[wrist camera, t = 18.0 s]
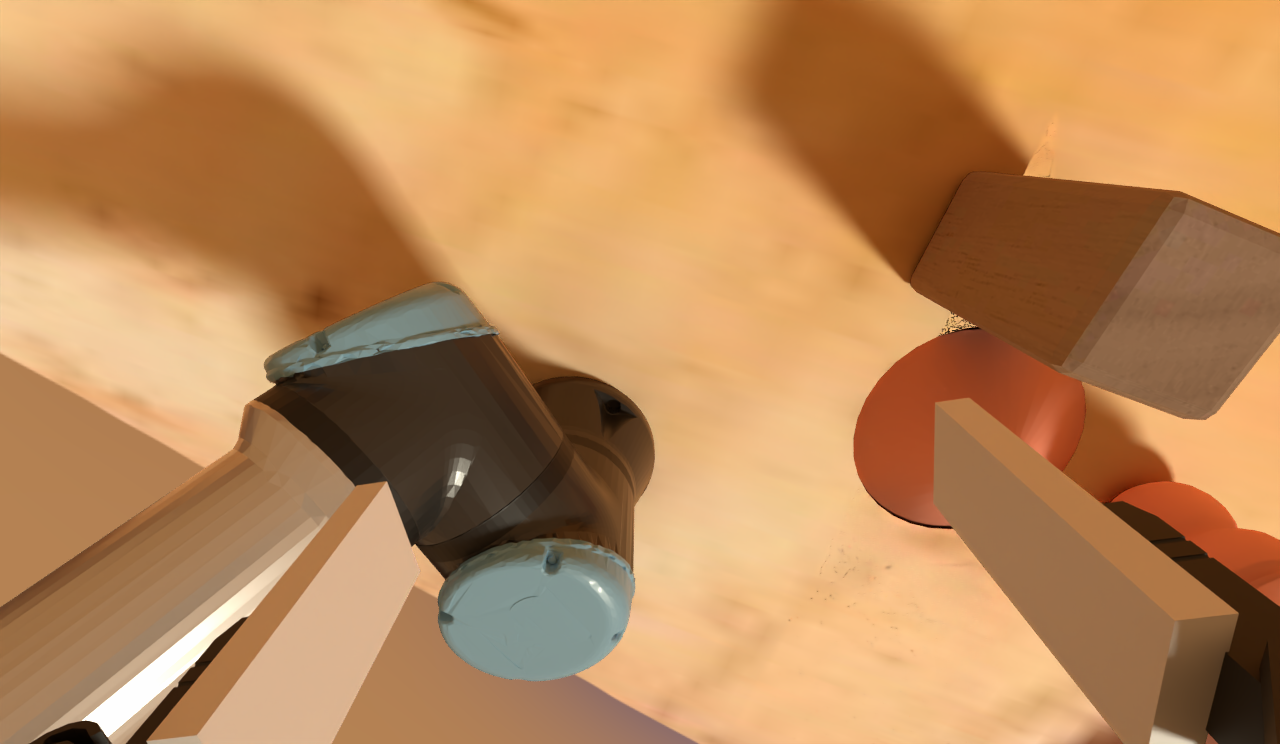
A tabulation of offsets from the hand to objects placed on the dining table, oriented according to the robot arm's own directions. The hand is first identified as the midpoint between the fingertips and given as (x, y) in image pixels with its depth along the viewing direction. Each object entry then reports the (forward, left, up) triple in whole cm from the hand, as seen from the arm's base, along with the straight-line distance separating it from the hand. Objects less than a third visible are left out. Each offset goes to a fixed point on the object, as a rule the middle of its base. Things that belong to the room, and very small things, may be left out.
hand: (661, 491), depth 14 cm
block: (+27, -5, -37) cm, 46 cm away
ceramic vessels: (+32, -26, -37) cm, 55 cm away
